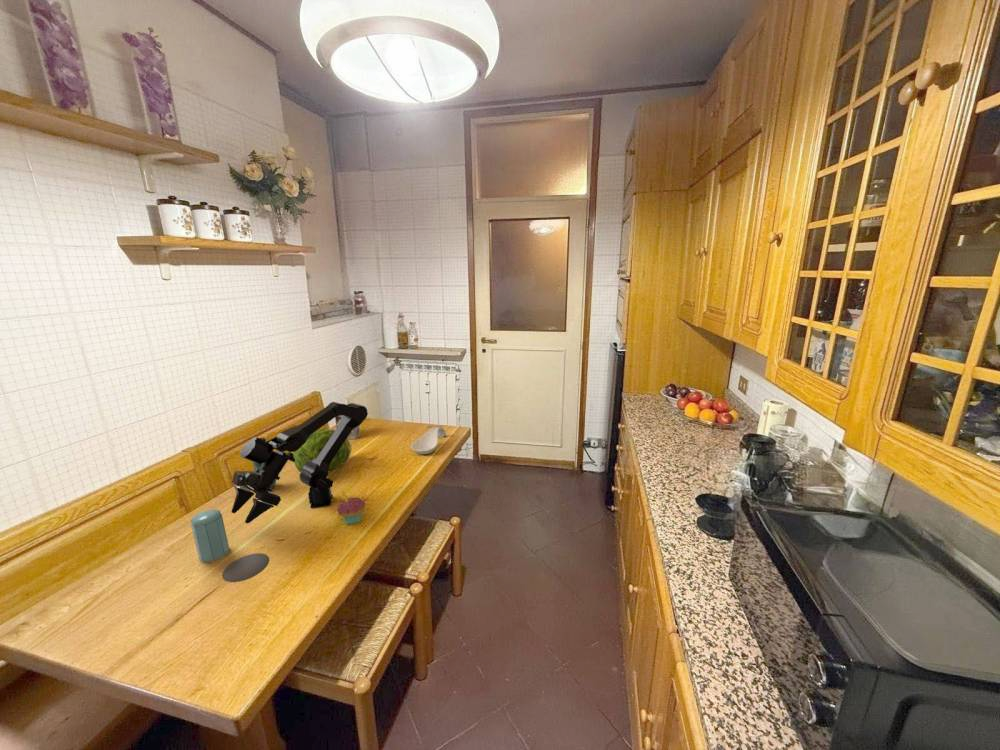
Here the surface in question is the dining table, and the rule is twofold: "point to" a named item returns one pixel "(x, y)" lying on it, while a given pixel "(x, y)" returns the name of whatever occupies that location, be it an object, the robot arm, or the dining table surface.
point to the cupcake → (351, 509)
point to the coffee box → (354, 432)
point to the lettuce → (315, 447)
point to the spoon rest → (428, 441)
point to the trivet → (245, 567)
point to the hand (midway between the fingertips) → (239, 517)
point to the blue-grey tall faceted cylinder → (210, 535)
